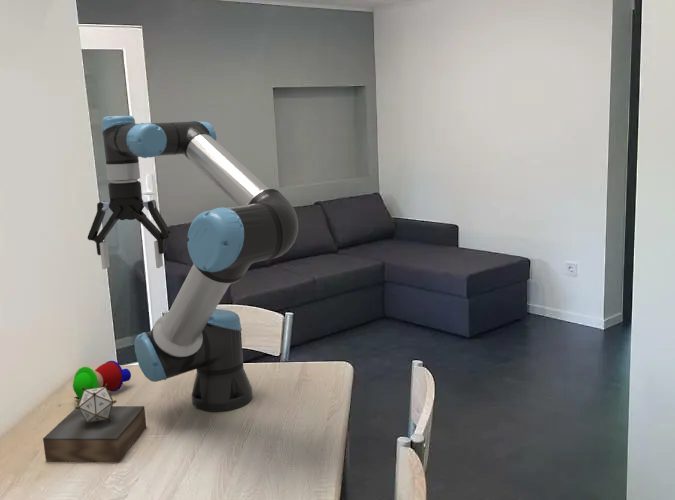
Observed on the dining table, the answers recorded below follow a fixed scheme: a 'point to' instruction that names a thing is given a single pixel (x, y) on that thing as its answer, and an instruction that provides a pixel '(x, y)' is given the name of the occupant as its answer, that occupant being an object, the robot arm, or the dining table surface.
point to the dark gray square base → (95, 436)
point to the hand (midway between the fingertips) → (132, 267)
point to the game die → (95, 404)
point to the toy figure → (100, 378)
